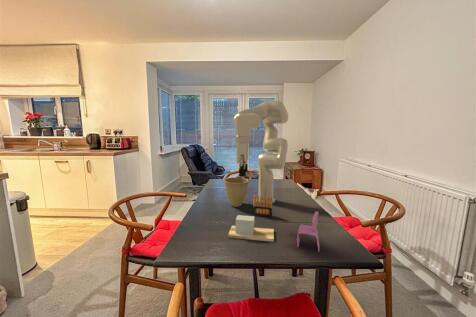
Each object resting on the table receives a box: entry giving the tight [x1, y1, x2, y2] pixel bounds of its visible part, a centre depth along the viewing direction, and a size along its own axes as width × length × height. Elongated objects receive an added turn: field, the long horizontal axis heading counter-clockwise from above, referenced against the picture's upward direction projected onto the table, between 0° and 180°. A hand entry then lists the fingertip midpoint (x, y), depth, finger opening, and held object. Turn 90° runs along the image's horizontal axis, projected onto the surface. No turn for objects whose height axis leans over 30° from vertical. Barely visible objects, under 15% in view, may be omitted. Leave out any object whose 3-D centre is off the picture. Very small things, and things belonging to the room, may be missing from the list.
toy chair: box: [296, 210, 320, 253], centre depth 85 cm, size 8×9×15 cm
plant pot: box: [223, 176, 249, 208], centre depth 130 cm, size 15×15×16 cm
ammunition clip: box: [252, 193, 273, 218], centre depth 115 cm, size 11×2×12 cm, turn 77°
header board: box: [227, 225, 275, 242], centre depth 95 cm, size 9×20×5 cm, turn 81°
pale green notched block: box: [235, 214, 256, 235], centre depth 95 cm, size 5×8×6 cm, turn 81°
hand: (243, 173), depth 105 cm, fingers open, 9 cm apart
